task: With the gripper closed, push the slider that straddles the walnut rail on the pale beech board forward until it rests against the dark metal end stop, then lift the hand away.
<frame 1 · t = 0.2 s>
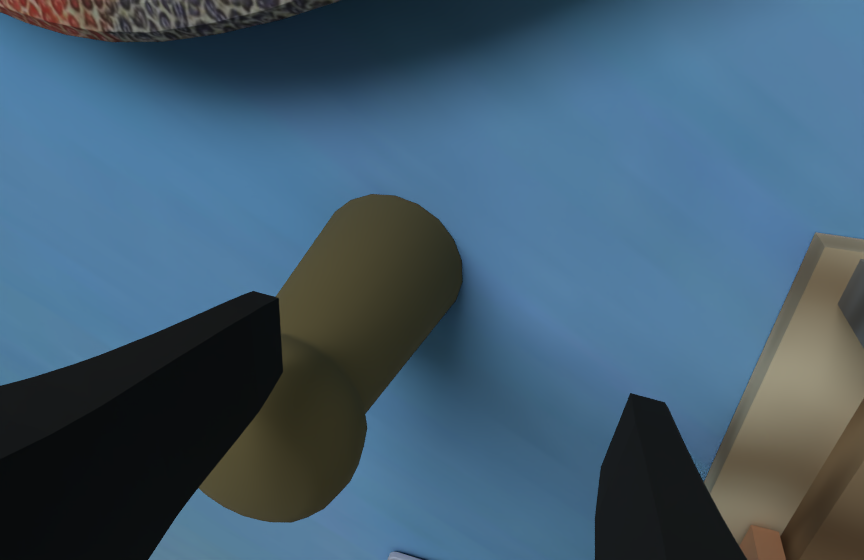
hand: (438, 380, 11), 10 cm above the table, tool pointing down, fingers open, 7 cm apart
rail board: (827, 480, 21), on the table
cork: (392, 261, 23), on the table
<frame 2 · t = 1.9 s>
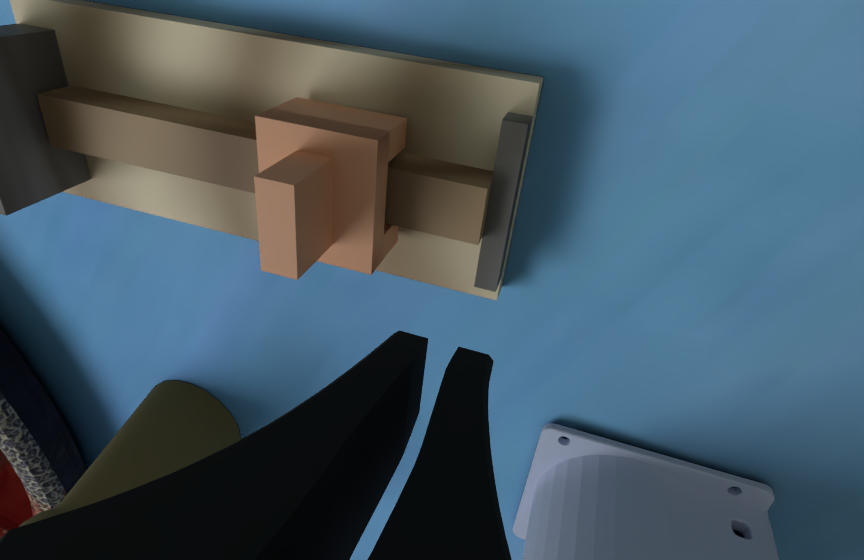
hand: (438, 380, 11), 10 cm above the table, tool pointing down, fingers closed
slider: (317, 197, 18), point 4 cm above the table, slide at 0.0 cm
rail board: (268, 140, 22), on the table
cork: (197, 418, 33), on the table
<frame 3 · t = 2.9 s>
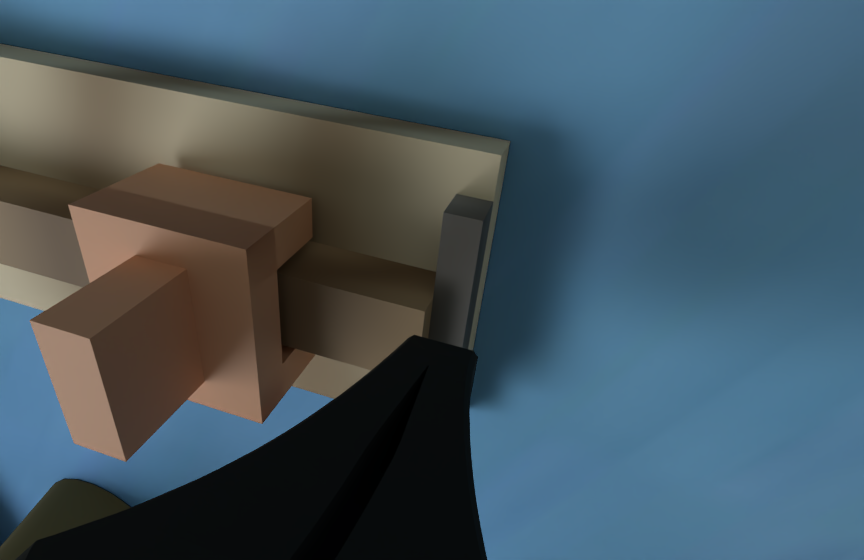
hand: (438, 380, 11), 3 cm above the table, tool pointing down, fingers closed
slider: (175, 319, 12), point 4 cm above the table, slide at 0.0 cm
rail board: (143, 211, 16), on the table
cork: (108, 520, 27), on the table
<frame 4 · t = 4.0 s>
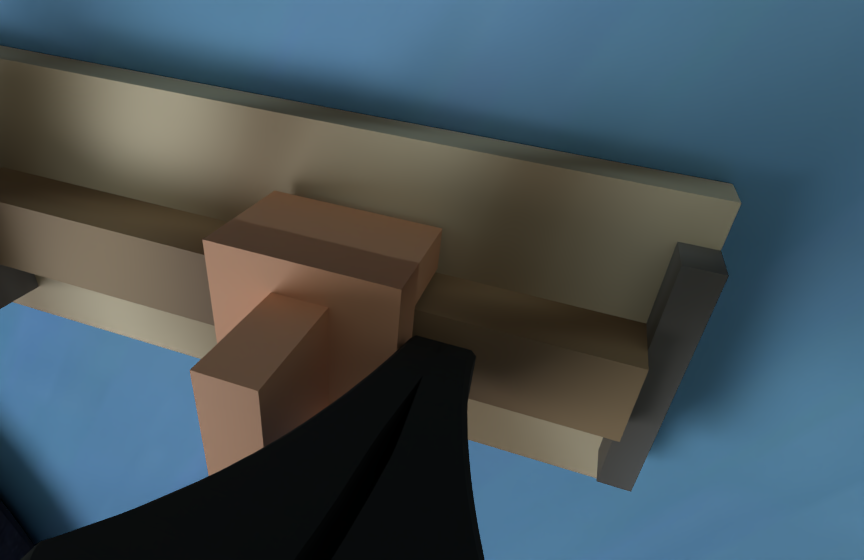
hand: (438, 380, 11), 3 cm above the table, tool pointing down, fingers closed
slider: (304, 357, 11), point 4 cm above the table, slide at 1.4 cm, touching gripper
rail board: (285, 247, 15), on the table
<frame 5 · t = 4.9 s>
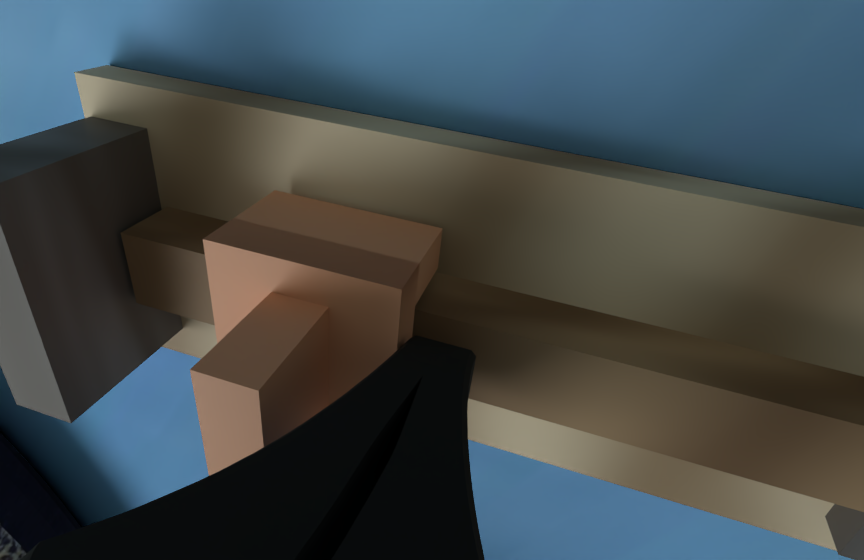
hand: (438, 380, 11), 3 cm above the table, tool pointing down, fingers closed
dish: (13, 507, 30), on the table
slider: (304, 356, 11), point 4 cm above the table, slide at 6.7 cm, touching gripper
rail board: (472, 293, 14), on the table
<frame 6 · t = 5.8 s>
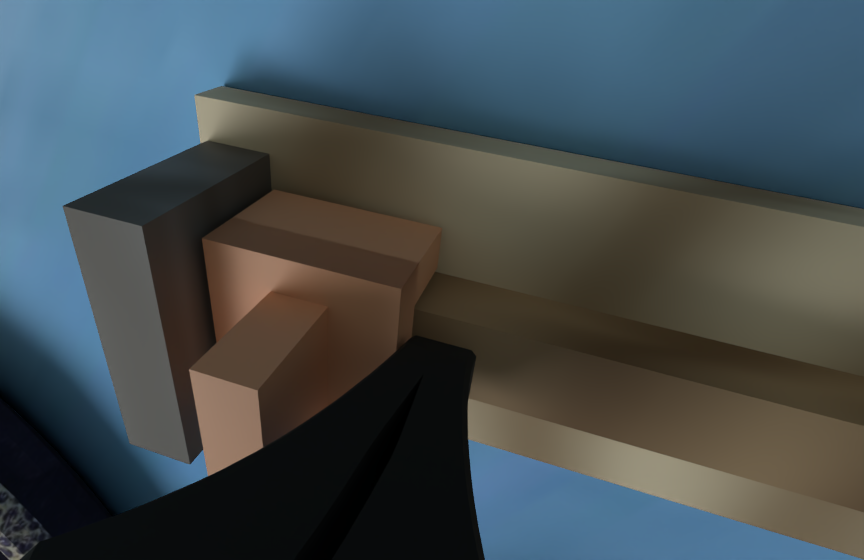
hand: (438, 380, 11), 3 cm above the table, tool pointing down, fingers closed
dish: (61, 526, 29), on the table
slider: (303, 356, 11), point 4 cm above the table, slide at 10.0 cm, touching gripper
rail board: (603, 326, 13), on the table
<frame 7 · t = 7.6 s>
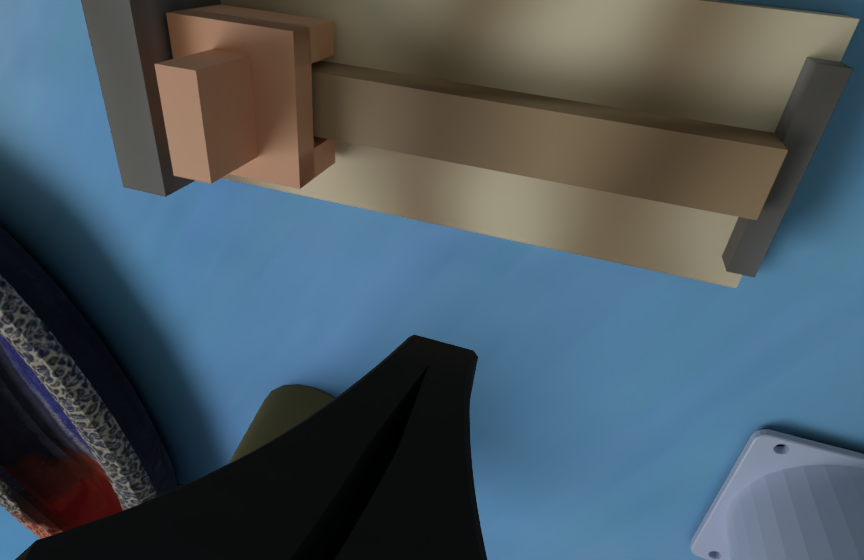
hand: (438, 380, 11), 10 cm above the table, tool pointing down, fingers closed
dish: (71, 382, 35), on the table
slider: (238, 104, 17), point 4 cm above the table, slide at 10.0 cm
rail board: (461, 106, 19), on the table
cork: (315, 426, 30), on the table
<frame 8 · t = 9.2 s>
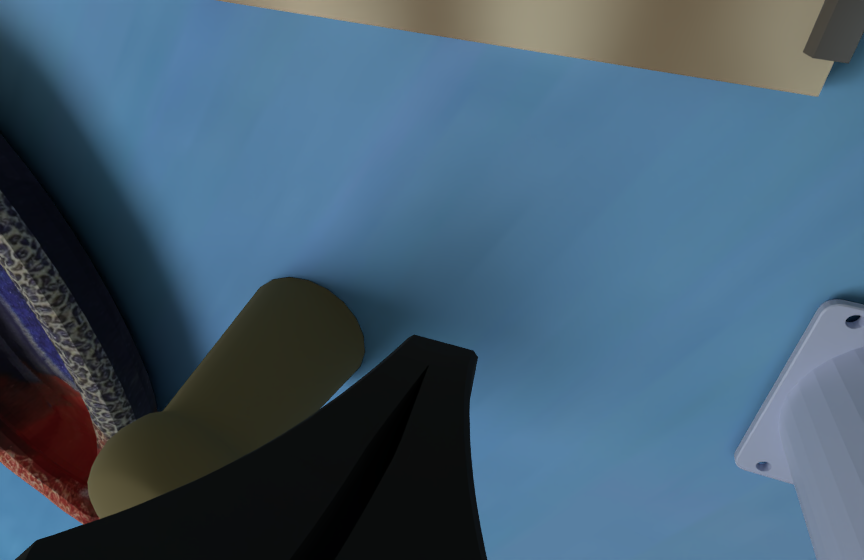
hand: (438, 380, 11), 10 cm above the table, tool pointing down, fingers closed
dish: (43, 293, 32), on the table
cork: (308, 330, 26), on the table
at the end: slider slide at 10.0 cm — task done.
